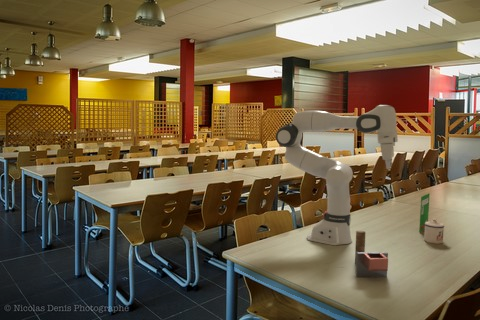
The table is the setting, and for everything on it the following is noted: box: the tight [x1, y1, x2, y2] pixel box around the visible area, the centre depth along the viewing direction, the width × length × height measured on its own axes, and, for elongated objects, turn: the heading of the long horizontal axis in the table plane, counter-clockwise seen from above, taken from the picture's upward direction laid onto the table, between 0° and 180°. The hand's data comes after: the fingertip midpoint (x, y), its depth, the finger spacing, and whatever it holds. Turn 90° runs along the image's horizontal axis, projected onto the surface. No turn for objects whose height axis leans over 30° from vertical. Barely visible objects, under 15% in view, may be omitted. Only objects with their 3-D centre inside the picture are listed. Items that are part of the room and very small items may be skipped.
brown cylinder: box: [354, 230, 366, 265], centre depth 168 cm, size 4×4×14 cm
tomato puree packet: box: [418, 193, 430, 233], centre depth 221 cm, size 15×1×20 cm, turn 139°
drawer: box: [355, 251, 389, 278], centre depth 151 cm, size 12×8×10 cm, turn 92°
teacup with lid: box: [423, 218, 445, 245], centre depth 201 cm, size 12×9×12 cm
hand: (389, 167), depth 187 cm, fingers open, 8 cm apart
